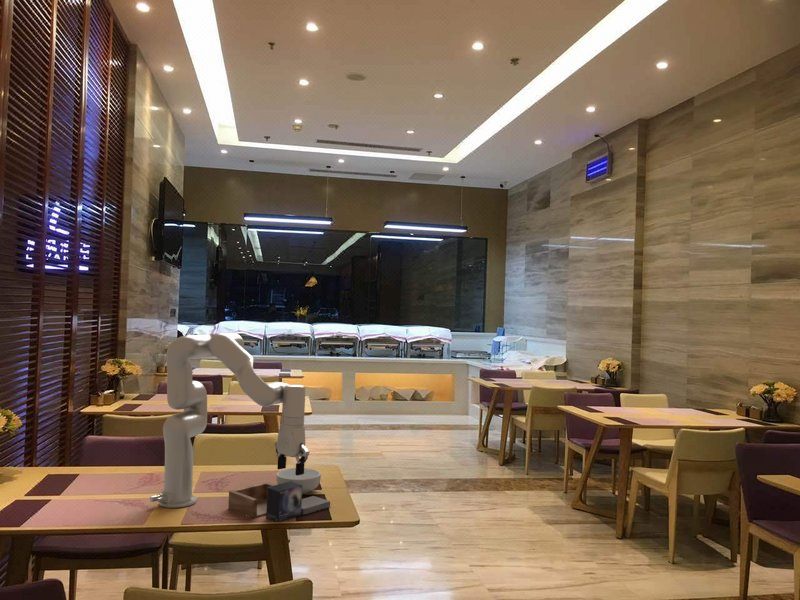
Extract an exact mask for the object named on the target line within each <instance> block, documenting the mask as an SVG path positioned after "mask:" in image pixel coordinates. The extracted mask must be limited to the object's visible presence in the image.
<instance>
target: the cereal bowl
mask: <svg viewBox="0 0 800 600" xmlns="http://www.w3.org/2000/svg"><path fill="white" fill-rule="evenodd" d="M295 473H296V467H294V468H284V469H280V470H279V471H278V472H276V483H277V484H276V485H278V484H282V483H286V482H290V481H291V482H294V483H297V484H301V485H302V495H305V494H308V493H309V492H311V491H313V490H315V489H316V488H318V486H319V484H320V483H321V477H322V473H321V472H320V471H318V470H316V469H312V468H305V467H304V474H302V475H298V476H297V475H296V474H295ZM307 492H308V493H307Z"/></svg>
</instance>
